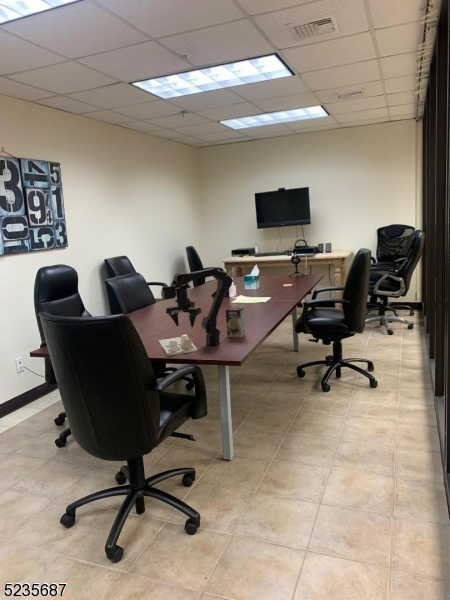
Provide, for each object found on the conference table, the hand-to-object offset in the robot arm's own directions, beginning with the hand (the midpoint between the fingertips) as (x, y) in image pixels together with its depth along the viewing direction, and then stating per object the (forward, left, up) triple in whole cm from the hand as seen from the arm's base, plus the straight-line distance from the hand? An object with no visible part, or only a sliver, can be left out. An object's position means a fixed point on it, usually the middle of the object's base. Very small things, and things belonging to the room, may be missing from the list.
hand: (184, 326), depth 234 cm
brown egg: (-1, +1, -12) cm, 12 cm away
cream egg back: (+4, -4, -12) cm, 14 cm away
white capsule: (+4, +6, -12) cm, 14 cm away
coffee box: (-10, -33, -13) cm, 37 cm away
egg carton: (+10, -4, -13) cm, 17 cm away
